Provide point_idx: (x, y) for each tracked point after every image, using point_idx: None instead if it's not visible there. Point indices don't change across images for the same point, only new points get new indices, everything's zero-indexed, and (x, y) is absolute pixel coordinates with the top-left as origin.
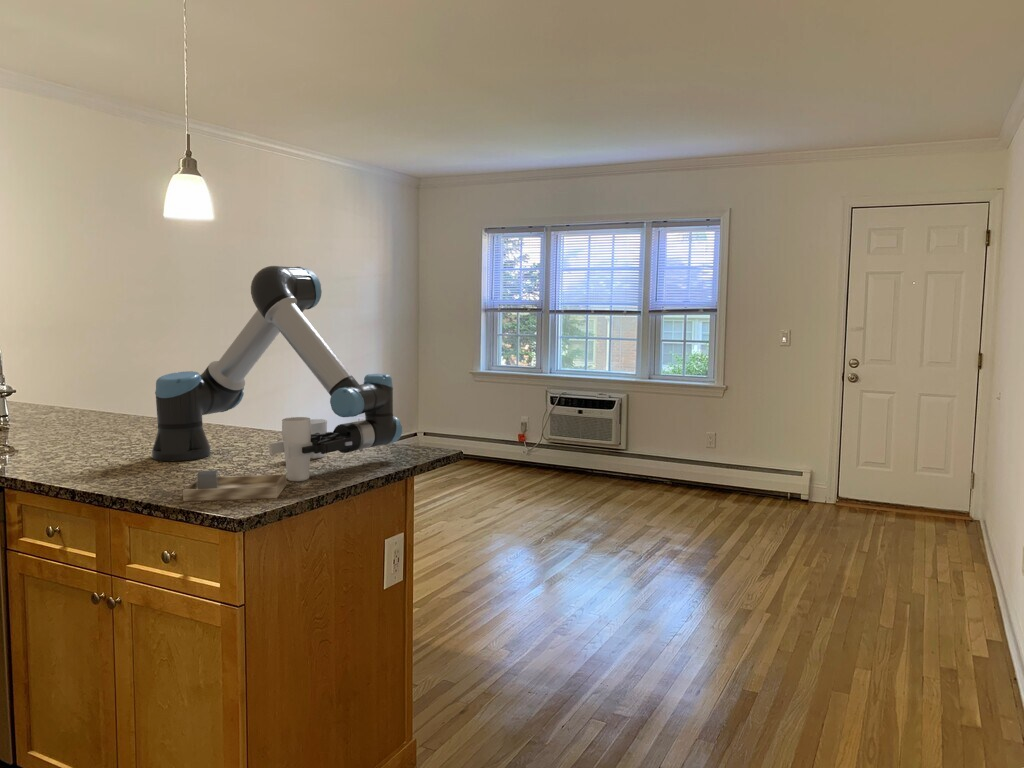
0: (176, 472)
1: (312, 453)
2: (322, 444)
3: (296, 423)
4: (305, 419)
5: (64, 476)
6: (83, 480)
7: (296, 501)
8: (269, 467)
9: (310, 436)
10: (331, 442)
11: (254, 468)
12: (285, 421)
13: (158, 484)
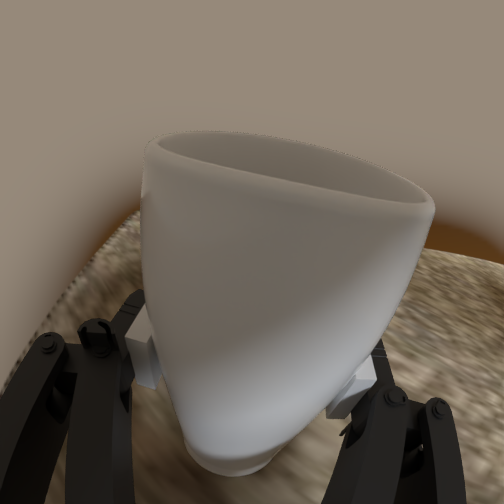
0: (496, 333)
1: (136, 381)
2: (49, 335)
3: (205, 149)
4: (319, 226)
5: (499, 276)
6: (479, 271)
7: (95, 263)
8: (472, 480)
9: (151, 329)
10: (5, 392)
11: (481, 443)
12: (287, 144)
13: (426, 283)
